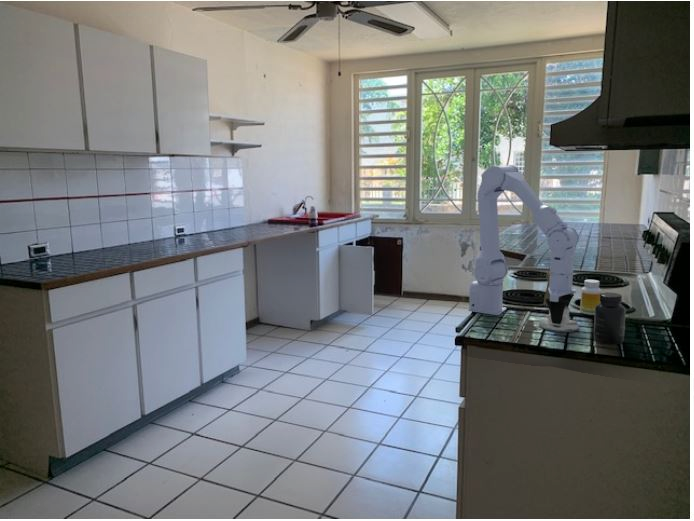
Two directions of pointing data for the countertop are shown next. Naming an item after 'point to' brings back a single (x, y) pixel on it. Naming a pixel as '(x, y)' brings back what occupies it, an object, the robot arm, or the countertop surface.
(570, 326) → the knobbed pot lid
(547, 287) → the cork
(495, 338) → the countertop surface
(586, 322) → the countertop surface
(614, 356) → the countertop surface
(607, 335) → the supplement bottle
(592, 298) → the supplement bottle
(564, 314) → the white faceted lump
